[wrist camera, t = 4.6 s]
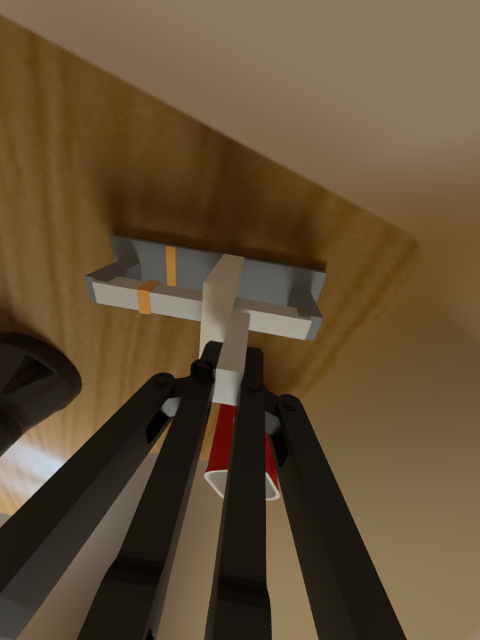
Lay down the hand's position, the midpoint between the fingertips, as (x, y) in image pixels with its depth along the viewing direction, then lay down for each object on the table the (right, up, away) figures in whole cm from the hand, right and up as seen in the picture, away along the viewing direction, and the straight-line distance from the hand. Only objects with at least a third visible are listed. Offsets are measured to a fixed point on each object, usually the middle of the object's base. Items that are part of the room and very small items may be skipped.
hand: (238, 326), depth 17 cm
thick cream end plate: (-1, +3, +5) cm, 6 cm away
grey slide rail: (-3, +5, +7) cm, 9 cm away
